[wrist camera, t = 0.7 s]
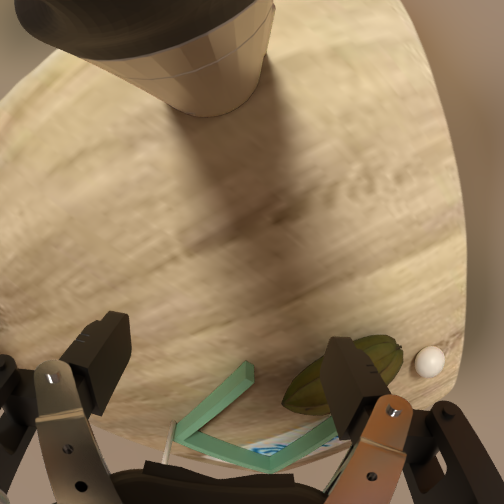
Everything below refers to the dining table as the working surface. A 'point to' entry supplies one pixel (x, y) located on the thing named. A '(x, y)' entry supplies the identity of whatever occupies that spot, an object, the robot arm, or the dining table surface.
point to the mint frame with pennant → (222, 450)
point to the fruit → (309, 385)
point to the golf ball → (429, 362)
